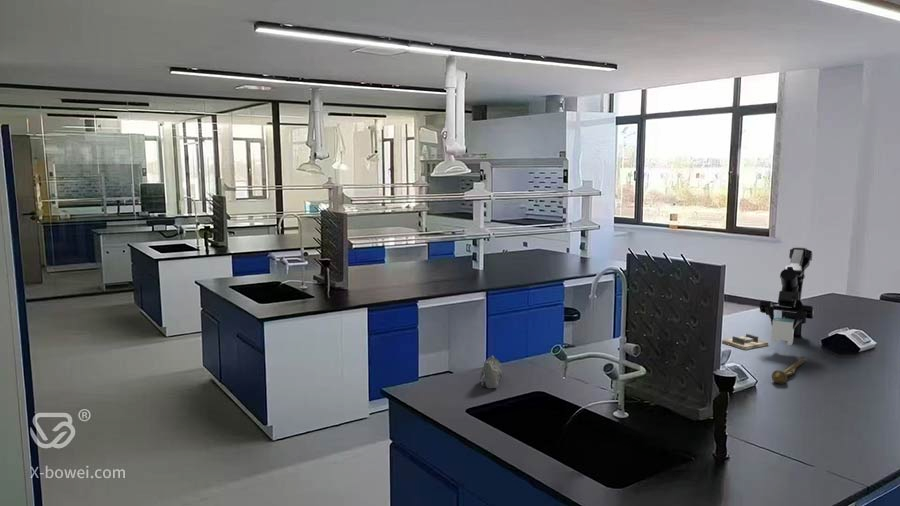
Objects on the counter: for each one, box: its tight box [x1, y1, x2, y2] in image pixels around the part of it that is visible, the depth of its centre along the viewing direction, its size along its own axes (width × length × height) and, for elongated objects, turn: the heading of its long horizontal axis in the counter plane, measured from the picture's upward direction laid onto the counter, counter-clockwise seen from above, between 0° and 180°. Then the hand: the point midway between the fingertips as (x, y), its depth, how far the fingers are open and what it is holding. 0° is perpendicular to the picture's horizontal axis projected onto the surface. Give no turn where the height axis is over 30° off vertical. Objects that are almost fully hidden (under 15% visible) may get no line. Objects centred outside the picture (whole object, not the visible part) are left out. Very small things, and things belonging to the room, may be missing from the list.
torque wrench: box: [771, 357, 806, 385], centre depth 216 cm, size 5×35×5 cm
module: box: [770, 317, 794, 346], centre depth 238 cm, size 5×7×9 cm
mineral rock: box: [479, 354, 503, 389], centre depth 207 cm, size 13×11×10 cm
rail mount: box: [721, 333, 769, 351], centre depth 251 cm, size 14×11×3 cm
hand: (782, 326), depth 237 cm, fingers closed on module, 7 cm apart
